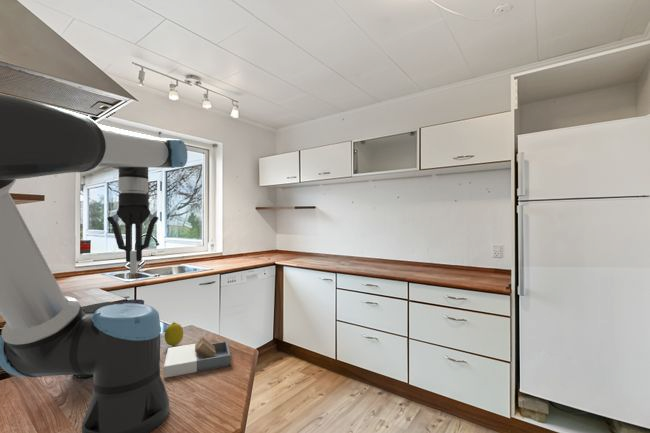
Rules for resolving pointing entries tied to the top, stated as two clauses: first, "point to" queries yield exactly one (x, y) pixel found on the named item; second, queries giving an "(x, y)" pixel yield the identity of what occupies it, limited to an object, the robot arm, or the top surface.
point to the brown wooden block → (205, 348)
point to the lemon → (173, 334)
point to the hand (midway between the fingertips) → (134, 272)
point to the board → (180, 361)
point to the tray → (215, 358)
